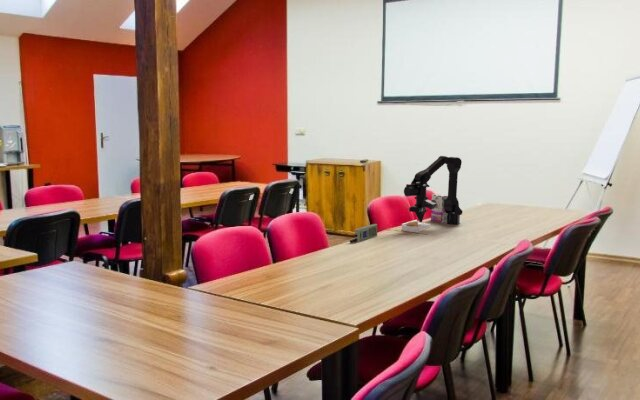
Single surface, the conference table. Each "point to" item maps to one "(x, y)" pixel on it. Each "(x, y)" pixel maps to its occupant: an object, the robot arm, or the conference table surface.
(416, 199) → the robot arm
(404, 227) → the white box
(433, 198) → the candy bar box
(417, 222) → the orange cube
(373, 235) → the handheld radio
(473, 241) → the conference table surface
